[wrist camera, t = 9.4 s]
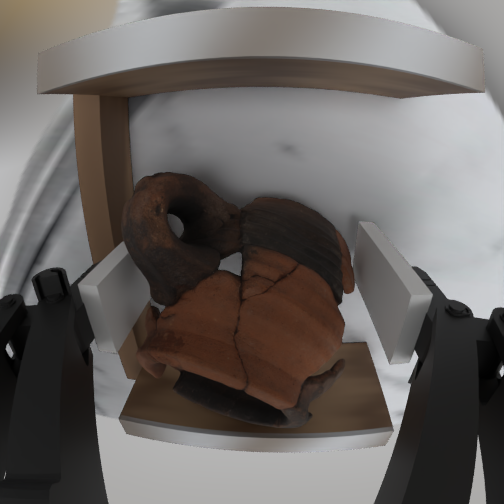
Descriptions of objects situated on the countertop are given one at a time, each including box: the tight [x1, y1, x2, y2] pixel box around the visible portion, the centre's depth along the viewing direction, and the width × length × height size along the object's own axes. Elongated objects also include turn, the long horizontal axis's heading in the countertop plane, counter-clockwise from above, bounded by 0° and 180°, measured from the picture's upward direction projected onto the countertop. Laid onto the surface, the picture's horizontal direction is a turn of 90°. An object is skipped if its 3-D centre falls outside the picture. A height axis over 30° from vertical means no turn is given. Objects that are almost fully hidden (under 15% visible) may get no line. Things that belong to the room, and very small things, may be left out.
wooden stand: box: [37, 7, 485, 452], centre depth 13 cm, size 16×18×7 cm
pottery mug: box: [121, 172, 355, 428], centre depth 13 cm, size 12×9×8 cm
